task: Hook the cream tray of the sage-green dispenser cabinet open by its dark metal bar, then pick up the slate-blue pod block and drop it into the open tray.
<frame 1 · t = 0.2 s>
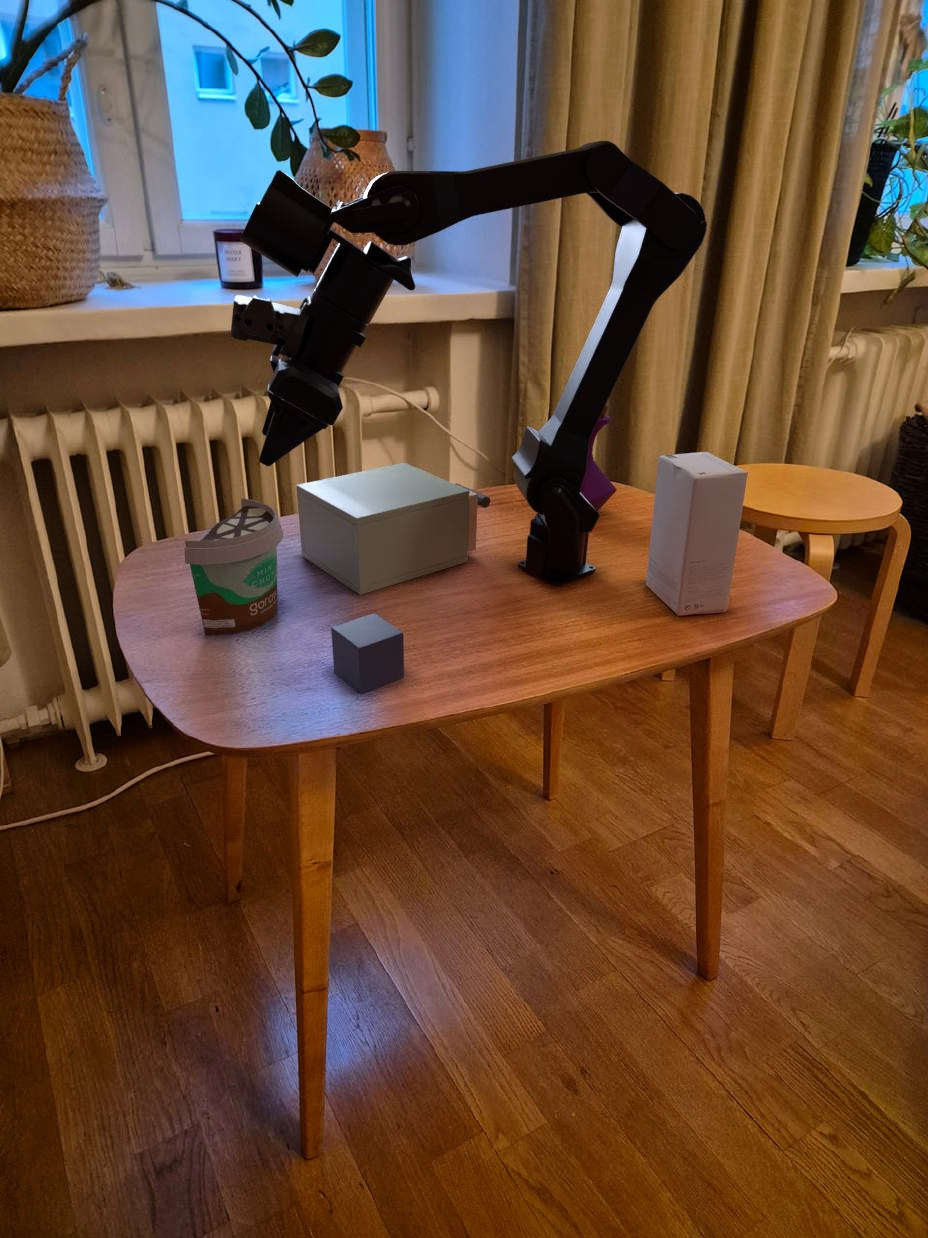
hand: (265, 448, 79), 15 cm above the table, tool tilted 30°, fingers open, 9 cm apart
cosmetic box: (682, 599, 85), on the table
dispenser: (384, 558, 92), on the table
tray: (415, 516, 92), point 4 cm above the table, slide at 0.5 cm
pod block: (368, 674, 70), on the table
food container: (256, 617, 79), on the table
perfume bottle: (575, 513, 107), on the table
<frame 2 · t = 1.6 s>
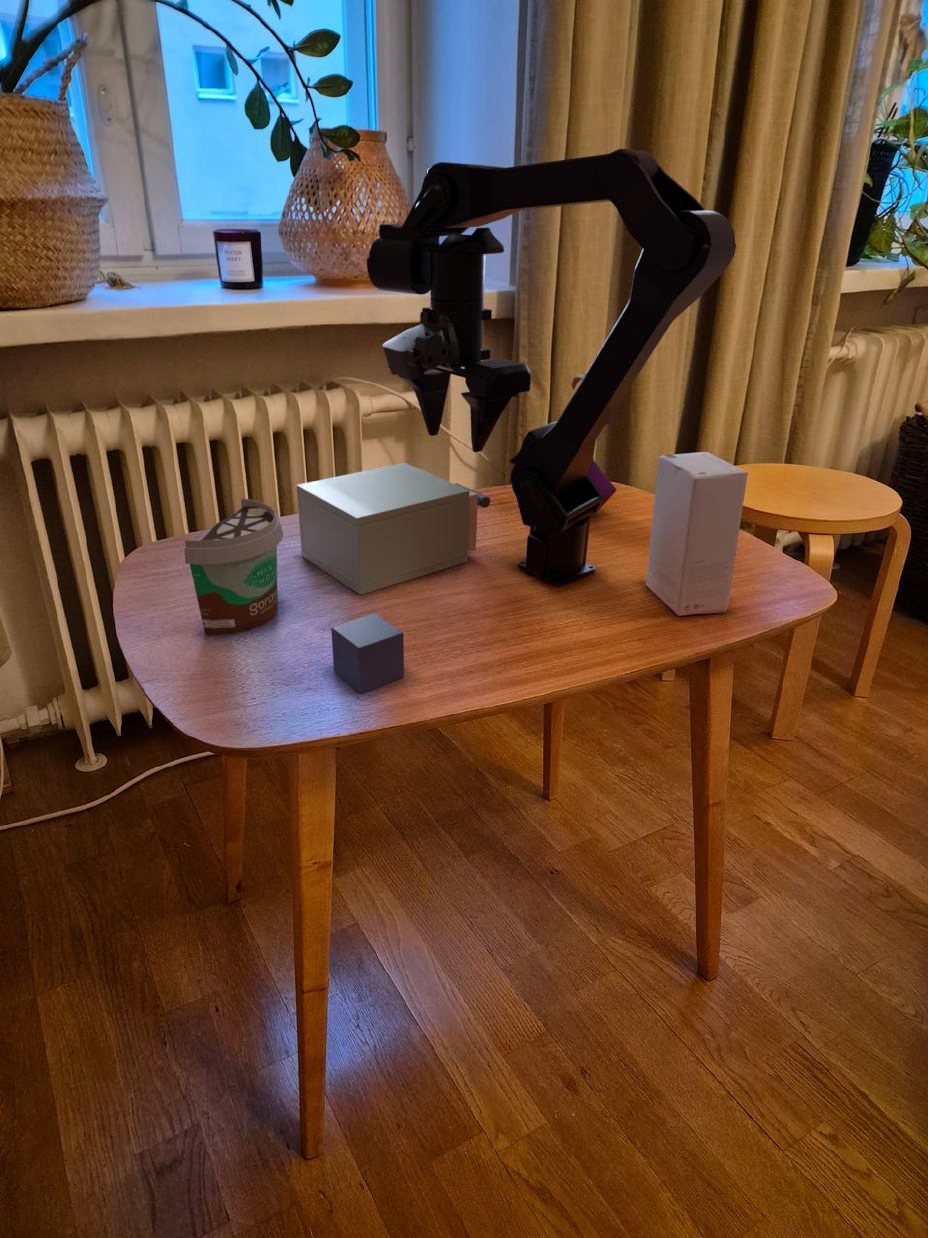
hand: (454, 443, 92), 12 cm above the table, tool pointing down, fingers open, 8 cm apart
nothing on the table moved.
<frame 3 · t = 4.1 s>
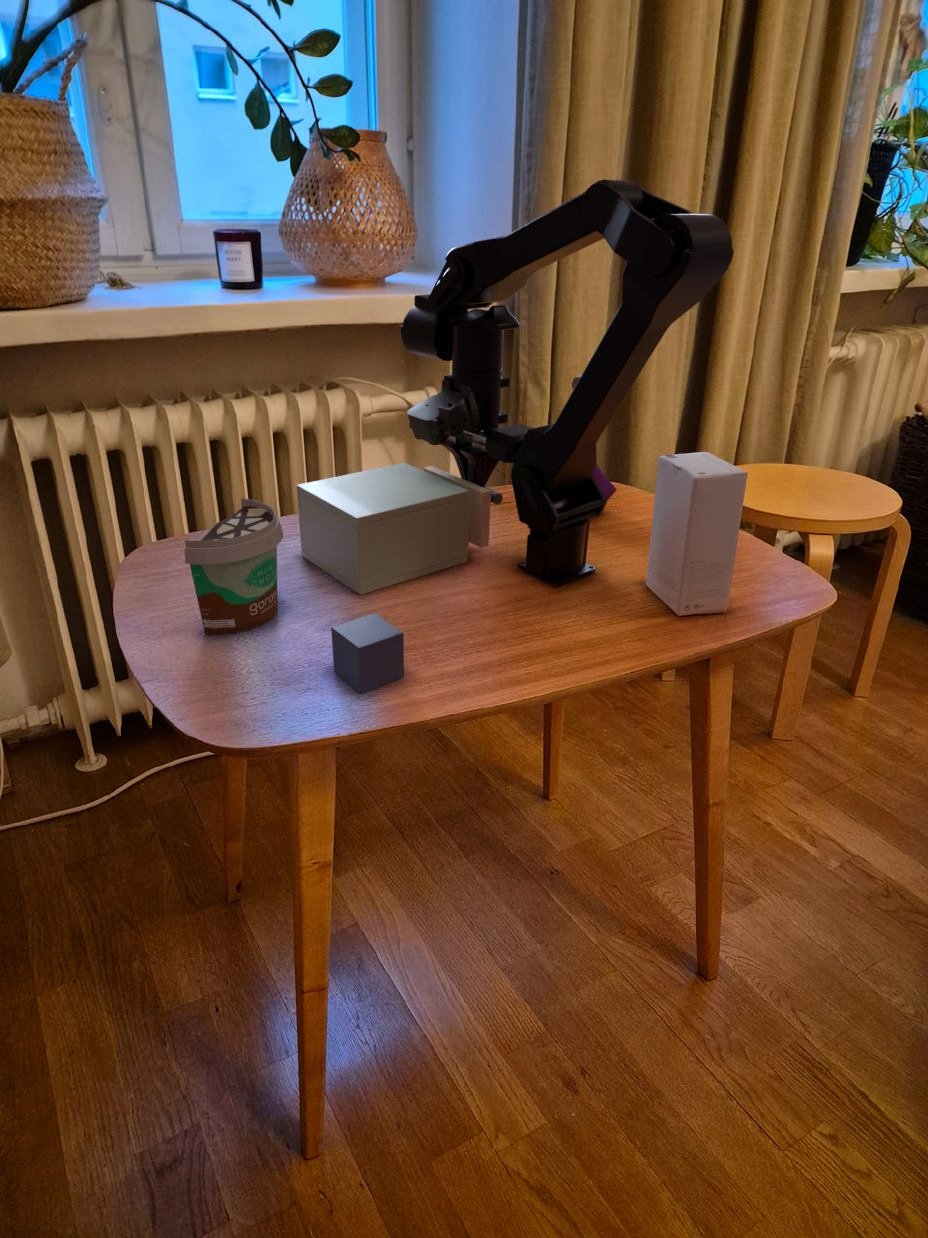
hand: (472, 499, 97), 5 cm above the table, tool pointing down, fingers closed
tray: (428, 512, 94), point 4 cm above the table, slide at 2.5 cm, touching gripper
everything else where it was.
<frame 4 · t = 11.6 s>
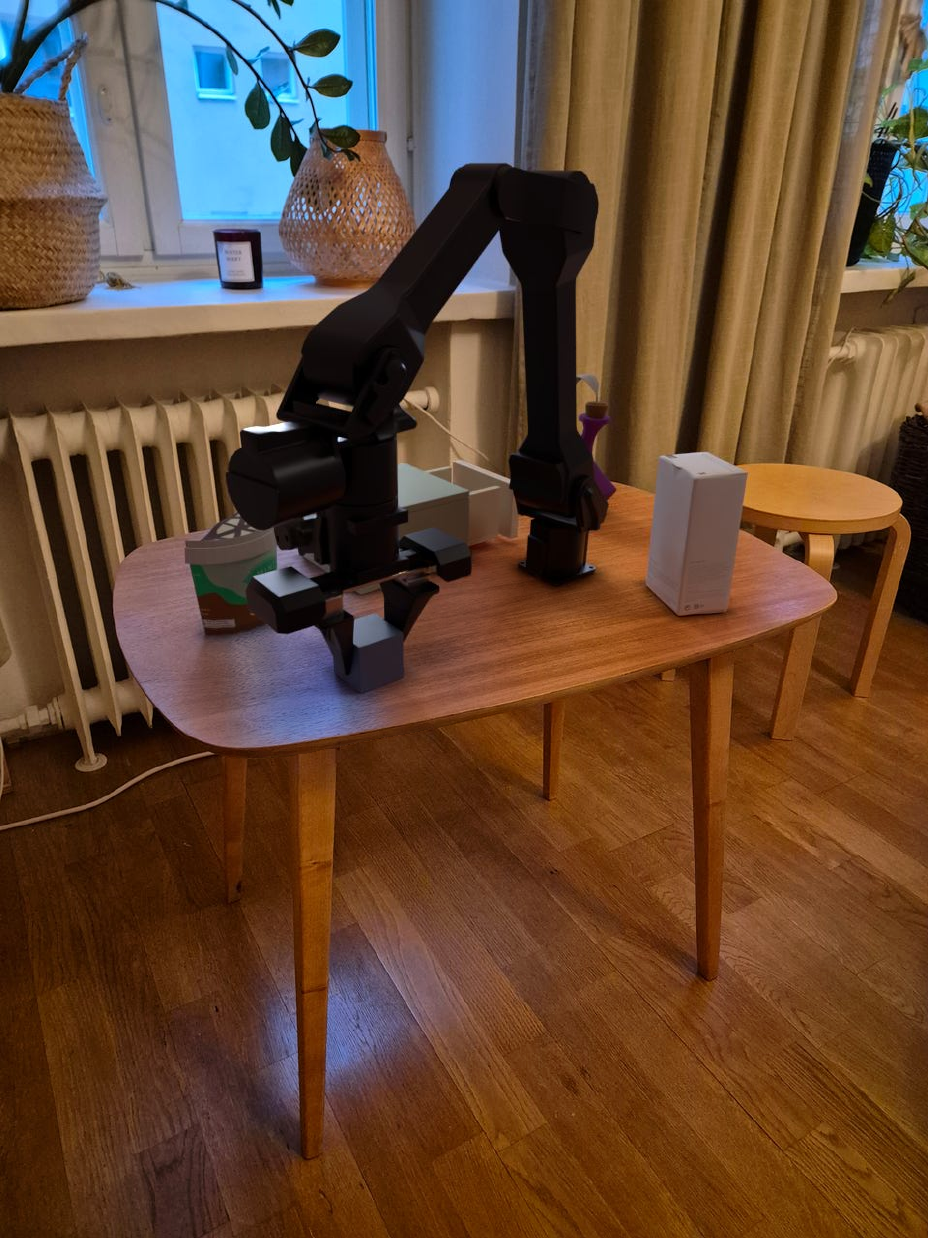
hand: (368, 664, 70), 1 cm above the table, tool pointing down, fingers closed on pod block, 4 cm apart
tray: (459, 504, 96), point 4 cm above the table, slide at 7.0 cm
pod block: (368, 674, 70), on the table, touching gripper
everything else where it was.
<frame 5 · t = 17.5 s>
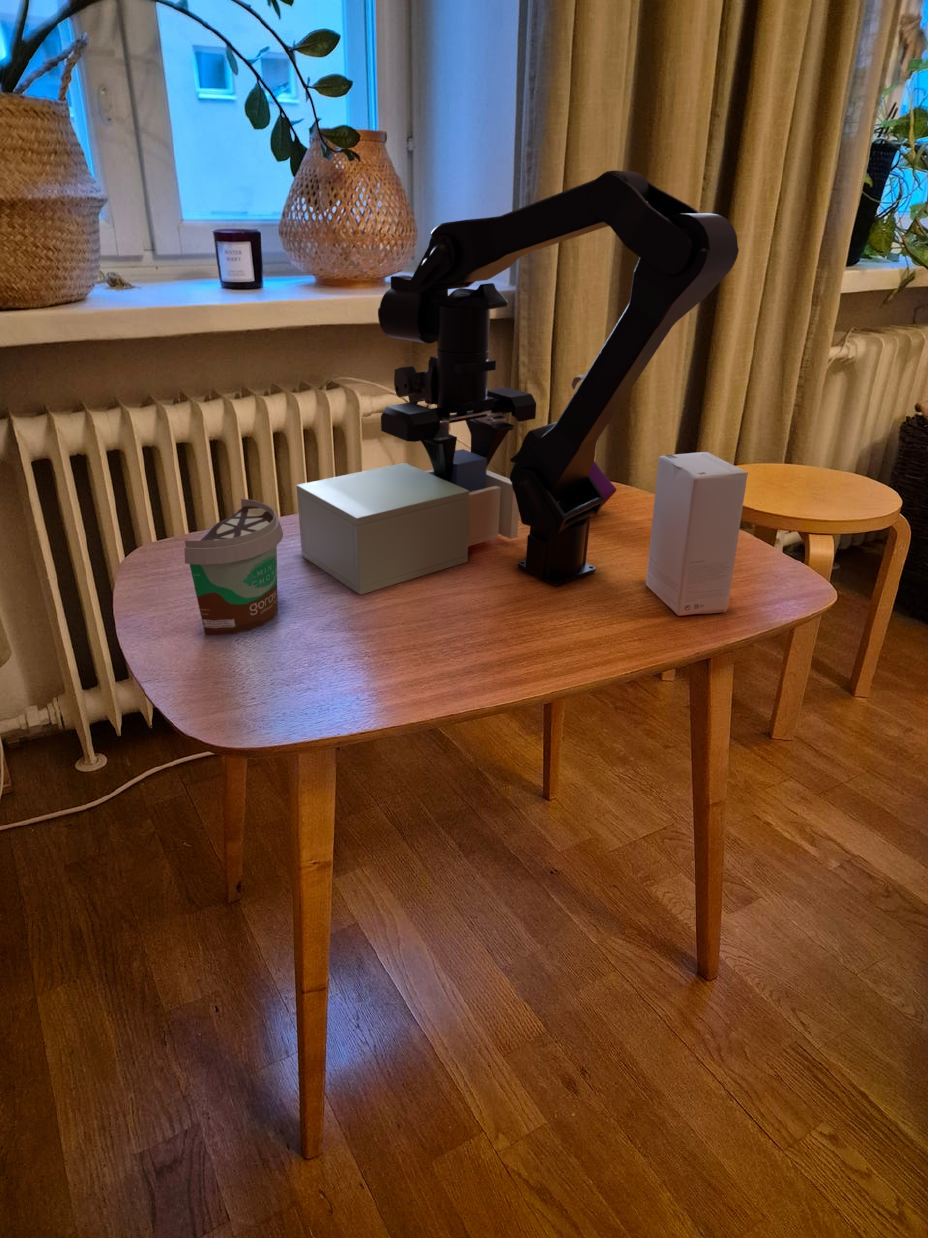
hand: (460, 485, 95), 7 cm above the table, tool pointing down, fingers closed on pod block, 4 cm apart
pod block: (459, 493, 96), point 6 cm above the table, touching gripper
everything else where it was.
when the fingers open (9 cm above the table, at t = 28.0 s): pod block drops 6 cm, resting on tray.
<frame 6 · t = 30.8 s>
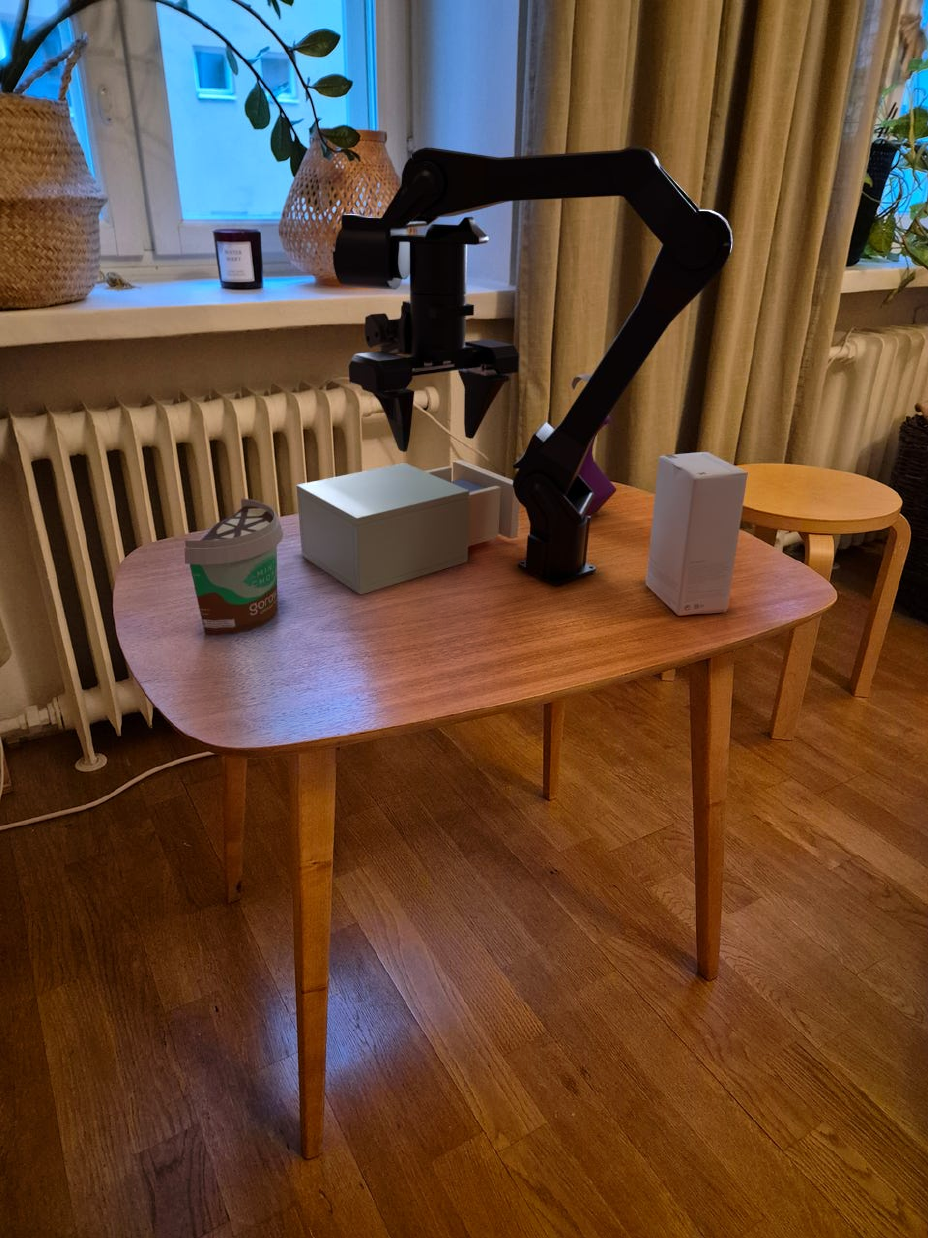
hand: (437, 444, 88), 13 cm above the table, tool pointing down, fingers open, 9 cm apart
tray: (459, 504, 96), point 4 cm above the table, slide at 7.0 cm, touching pod block
pod block: (459, 522, 97), point 2 cm above the table, touching tray
everything else where it was.
at the end: tray slide at 7.0 cm; pod block inside the target area in the dispenser (6.5 cm from its centre), point 2.0 cm above the dispenser's base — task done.
